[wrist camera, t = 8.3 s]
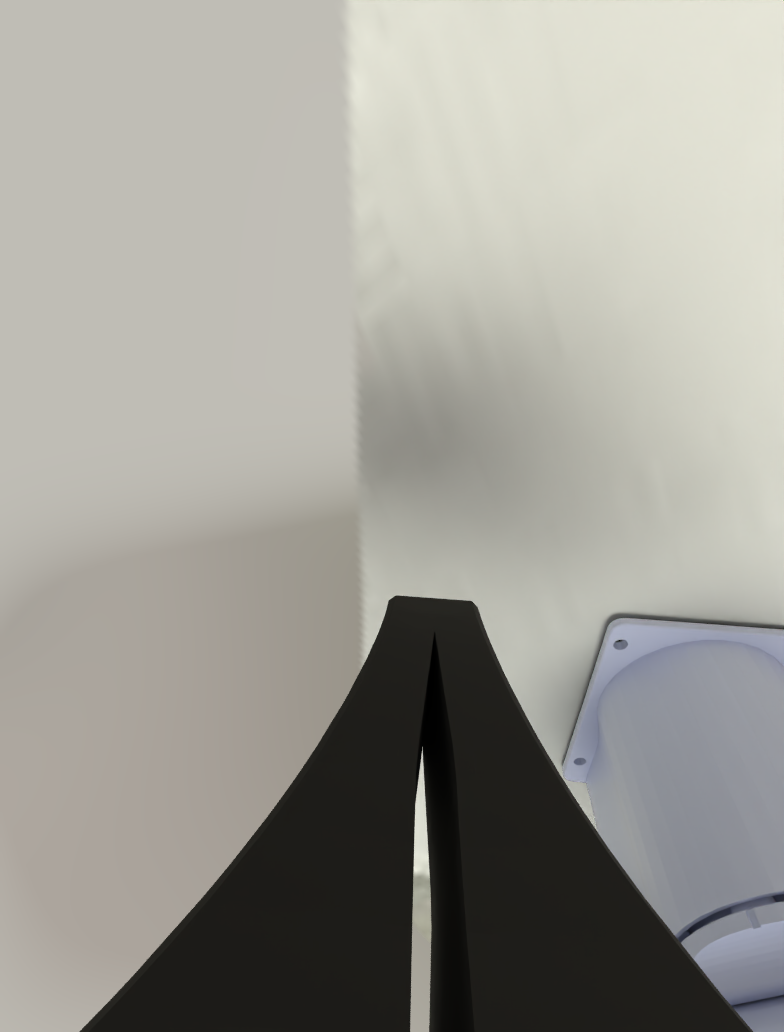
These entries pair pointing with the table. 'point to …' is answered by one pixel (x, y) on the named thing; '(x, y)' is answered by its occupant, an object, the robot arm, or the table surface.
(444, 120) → the table surface
